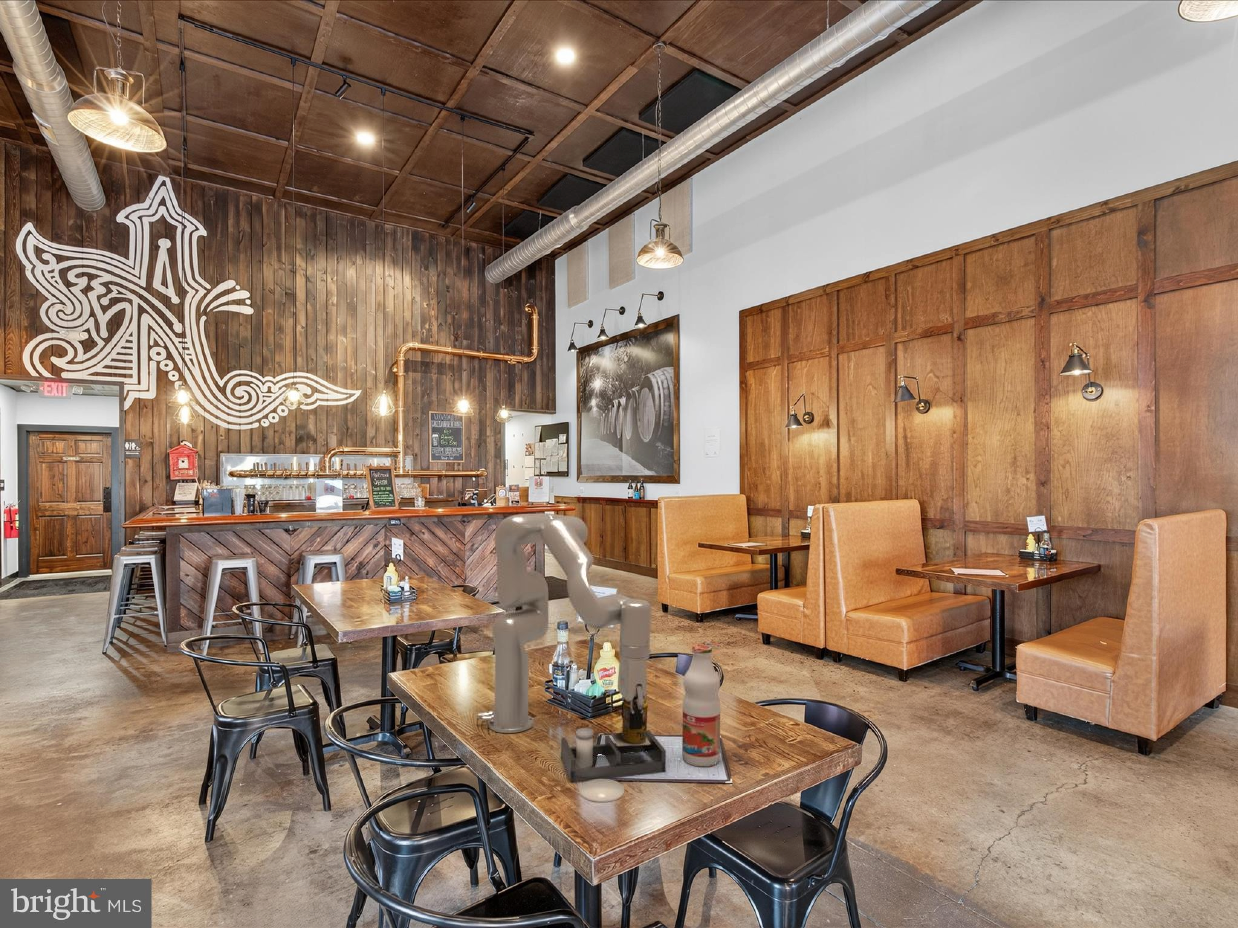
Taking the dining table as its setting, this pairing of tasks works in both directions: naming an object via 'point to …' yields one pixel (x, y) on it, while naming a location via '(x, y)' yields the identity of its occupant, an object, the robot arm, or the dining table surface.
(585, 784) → the coaster
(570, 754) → the caddy
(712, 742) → the fruit juice
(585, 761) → the salt shaker
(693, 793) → the dining table surface
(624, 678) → the robot arm
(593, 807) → the dining table surface
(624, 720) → the condiment
